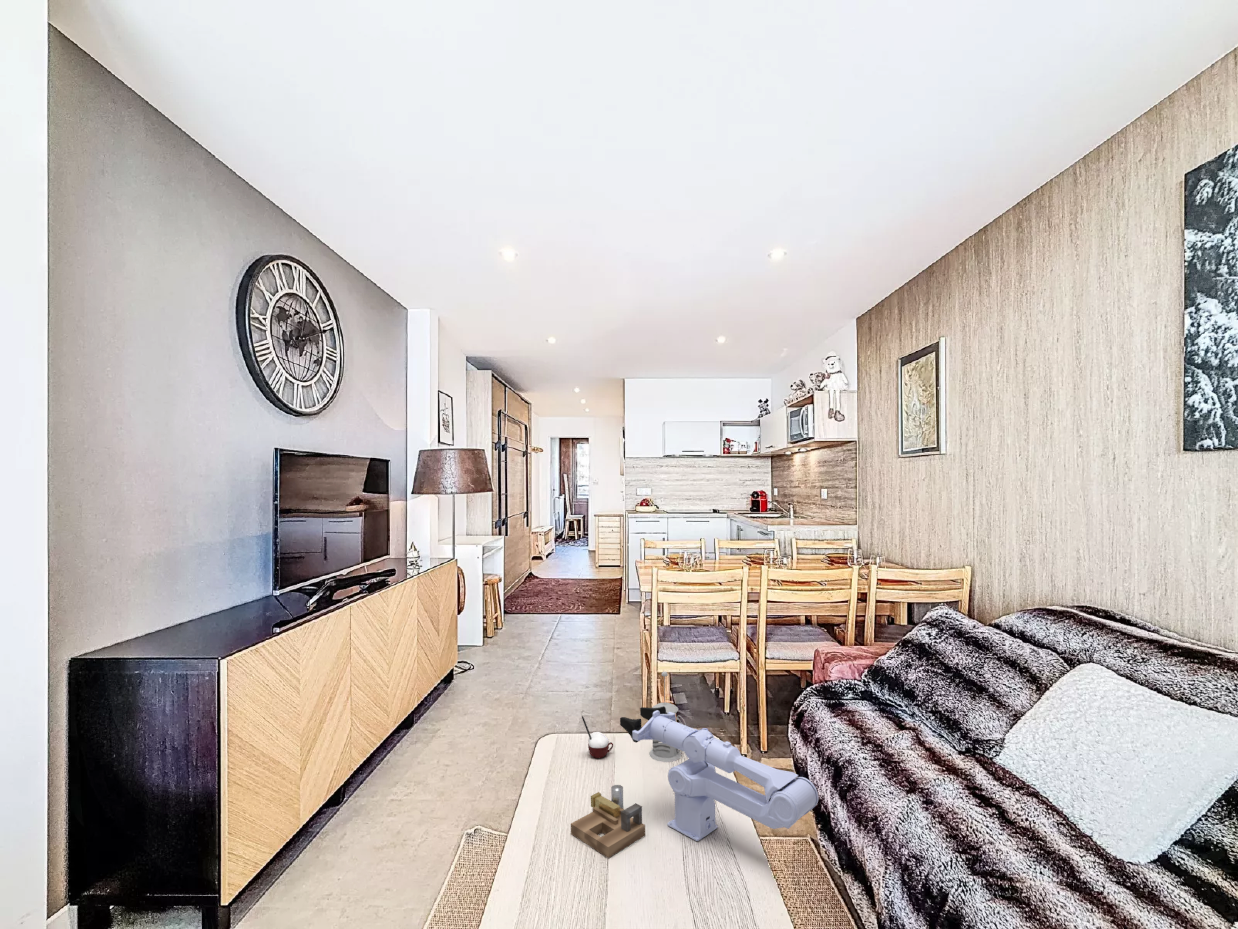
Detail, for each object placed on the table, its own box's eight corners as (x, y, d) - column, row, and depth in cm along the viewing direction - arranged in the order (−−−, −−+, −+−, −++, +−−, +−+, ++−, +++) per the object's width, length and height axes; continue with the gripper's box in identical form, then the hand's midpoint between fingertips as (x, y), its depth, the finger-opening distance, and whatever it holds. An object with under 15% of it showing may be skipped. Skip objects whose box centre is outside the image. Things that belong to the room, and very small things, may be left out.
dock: (645, 835, 148) (644, 808, 148) (608, 858, 140) (608, 829, 140) (607, 813, 157) (607, 788, 157) (570, 834, 149) (570, 806, 149)
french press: (658, 744, 196) (657, 664, 196) (692, 752, 190) (691, 670, 190) (643, 757, 187) (642, 673, 187) (678, 766, 181) (677, 680, 181)
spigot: (625, 811, 158) (625, 787, 158) (617, 816, 156) (617, 792, 156) (617, 806, 160) (617, 783, 160) (609, 811, 158) (608, 787, 158)
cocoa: (613, 753, 191) (615, 713, 191) (610, 762, 185) (612, 721, 185) (583, 750, 192) (584, 710, 193) (579, 758, 186) (580, 718, 186)
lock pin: (620, 814, 152) (620, 804, 152) (613, 819, 150) (612, 808, 150) (598, 802, 158) (598, 792, 158) (590, 806, 156) (590, 795, 156)
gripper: (688, 707, 161) (649, 692, 170) (650, 727, 150) (611, 710, 160) (689, 734, 161) (649, 718, 171) (651, 755, 151) (612, 737, 160)
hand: (631, 716), depth 165 cm, fingers open, 7 cm apart
